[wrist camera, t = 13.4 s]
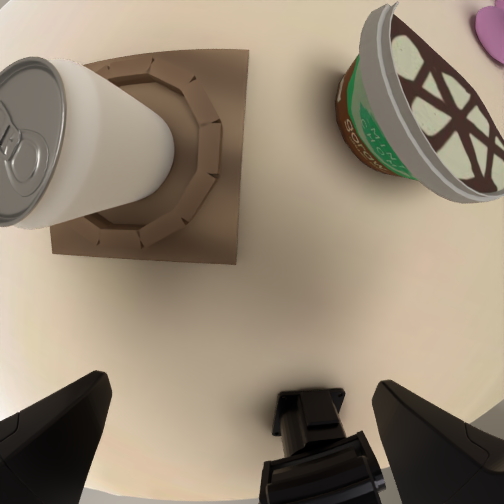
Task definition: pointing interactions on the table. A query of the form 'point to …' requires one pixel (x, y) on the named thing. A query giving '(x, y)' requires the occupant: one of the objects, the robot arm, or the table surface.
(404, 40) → the food container
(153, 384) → the table surface
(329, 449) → the robot arm
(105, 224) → the brown ring stand base
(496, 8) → the container set
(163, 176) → the can
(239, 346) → the table surface
